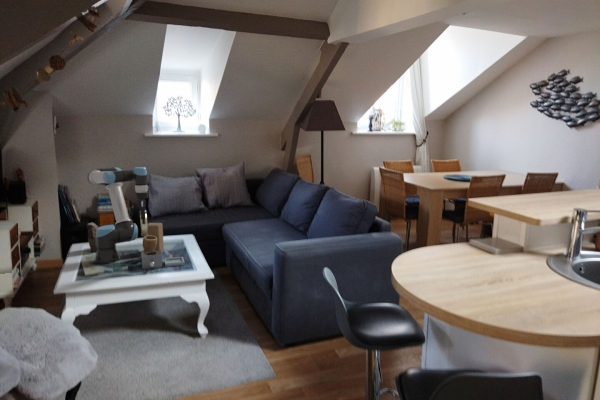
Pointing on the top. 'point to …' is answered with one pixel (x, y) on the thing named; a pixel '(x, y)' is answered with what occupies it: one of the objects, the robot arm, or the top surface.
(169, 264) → the tray
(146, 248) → the stone cup
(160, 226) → the wooden block
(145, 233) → the cylindrical container
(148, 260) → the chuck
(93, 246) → the owl
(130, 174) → the robot arm
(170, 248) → the top surface
